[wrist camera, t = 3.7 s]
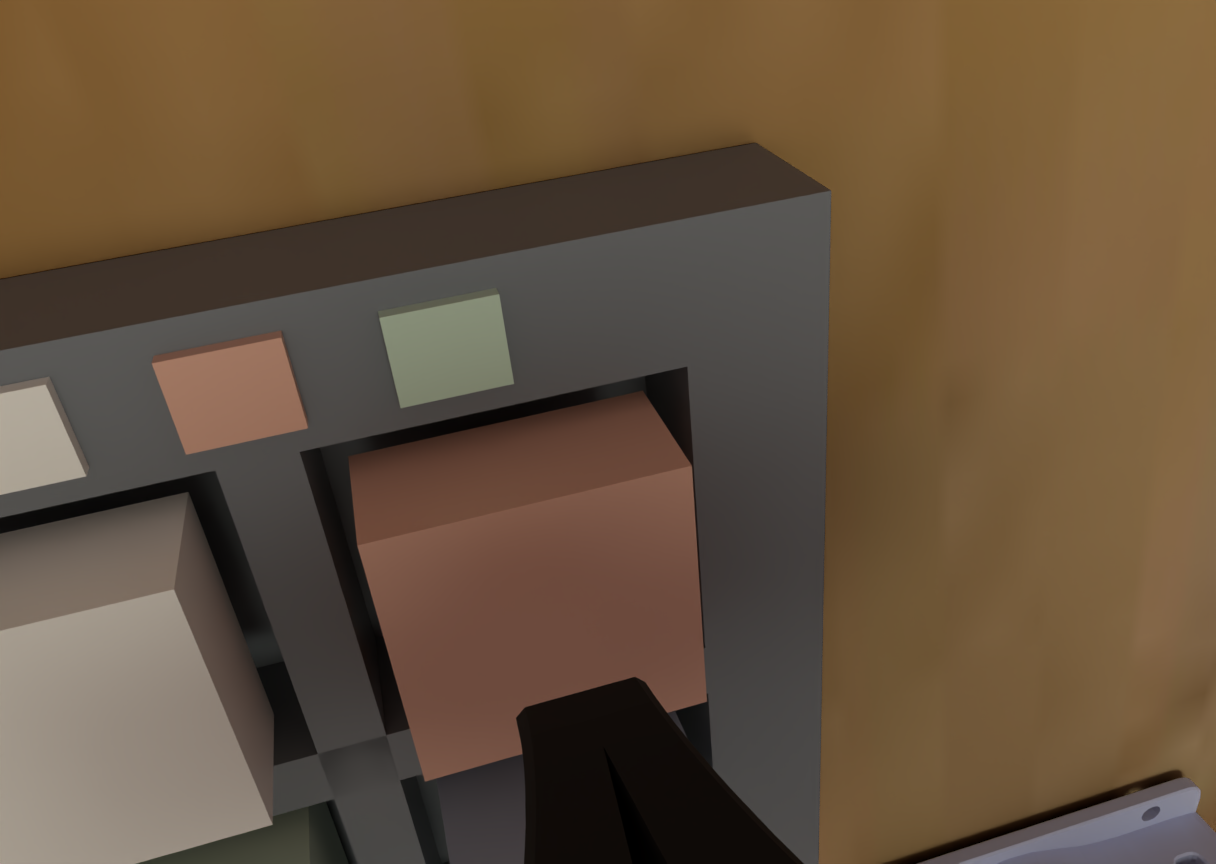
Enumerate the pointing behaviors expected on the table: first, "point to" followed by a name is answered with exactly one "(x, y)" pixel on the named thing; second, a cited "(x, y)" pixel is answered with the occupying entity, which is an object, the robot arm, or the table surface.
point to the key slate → (488, 811)
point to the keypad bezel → (447, 403)
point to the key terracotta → (530, 570)
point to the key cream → (125, 692)
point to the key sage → (272, 843)
